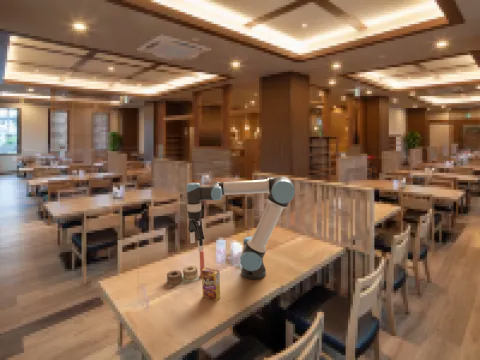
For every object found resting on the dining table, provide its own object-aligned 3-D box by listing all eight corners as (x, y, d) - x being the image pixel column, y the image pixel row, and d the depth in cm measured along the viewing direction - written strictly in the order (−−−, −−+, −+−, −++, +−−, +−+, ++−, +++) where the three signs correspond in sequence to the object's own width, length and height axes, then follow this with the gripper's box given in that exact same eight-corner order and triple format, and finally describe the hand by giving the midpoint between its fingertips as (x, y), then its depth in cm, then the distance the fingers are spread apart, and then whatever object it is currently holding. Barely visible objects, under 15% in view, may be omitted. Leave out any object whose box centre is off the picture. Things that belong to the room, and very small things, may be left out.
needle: (204, 274, 180) (203, 249, 178) (205, 276, 178) (204, 251, 175) (200, 275, 179) (198, 250, 177) (201, 277, 177) (200, 252, 174)
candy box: (202, 297, 156) (201, 270, 153) (206, 293, 159) (205, 266, 157) (216, 301, 151) (215, 273, 149) (220, 297, 155) (219, 270, 152)
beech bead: (195, 272, 183) (194, 264, 182) (198, 277, 175) (198, 270, 175) (182, 275, 179) (182, 267, 179) (185, 280, 172) (185, 272, 171)
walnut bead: (179, 277, 177) (179, 269, 176) (183, 283, 170) (182, 275, 169) (166, 280, 173) (165, 272, 173) (169, 286, 166) (168, 278, 165)
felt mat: (195, 272, 183) (195, 272, 183) (199, 280, 174) (199, 279, 174) (165, 279, 175) (165, 278, 175) (169, 287, 166) (169, 286, 166)
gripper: (181, 207, 173) (183, 241, 177) (195, 216, 152) (197, 255, 155) (193, 205, 177) (195, 238, 180) (209, 214, 155) (211, 252, 158)
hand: (196, 246), depth 168 cm, fingers open, 13 cm apart
